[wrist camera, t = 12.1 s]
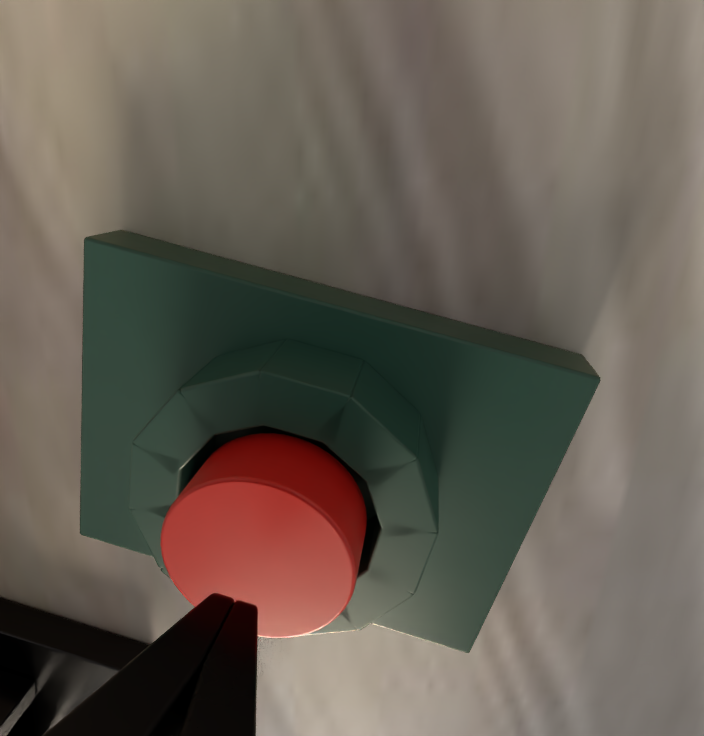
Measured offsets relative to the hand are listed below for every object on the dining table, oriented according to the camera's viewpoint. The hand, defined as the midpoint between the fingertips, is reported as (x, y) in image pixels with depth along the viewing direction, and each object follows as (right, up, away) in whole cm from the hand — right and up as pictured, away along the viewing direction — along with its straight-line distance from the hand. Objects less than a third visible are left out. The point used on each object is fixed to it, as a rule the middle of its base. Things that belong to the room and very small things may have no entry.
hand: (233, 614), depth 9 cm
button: (0, +1, +3) cm, 3 cm away
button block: (+1, +2, +5) cm, 6 cm away
